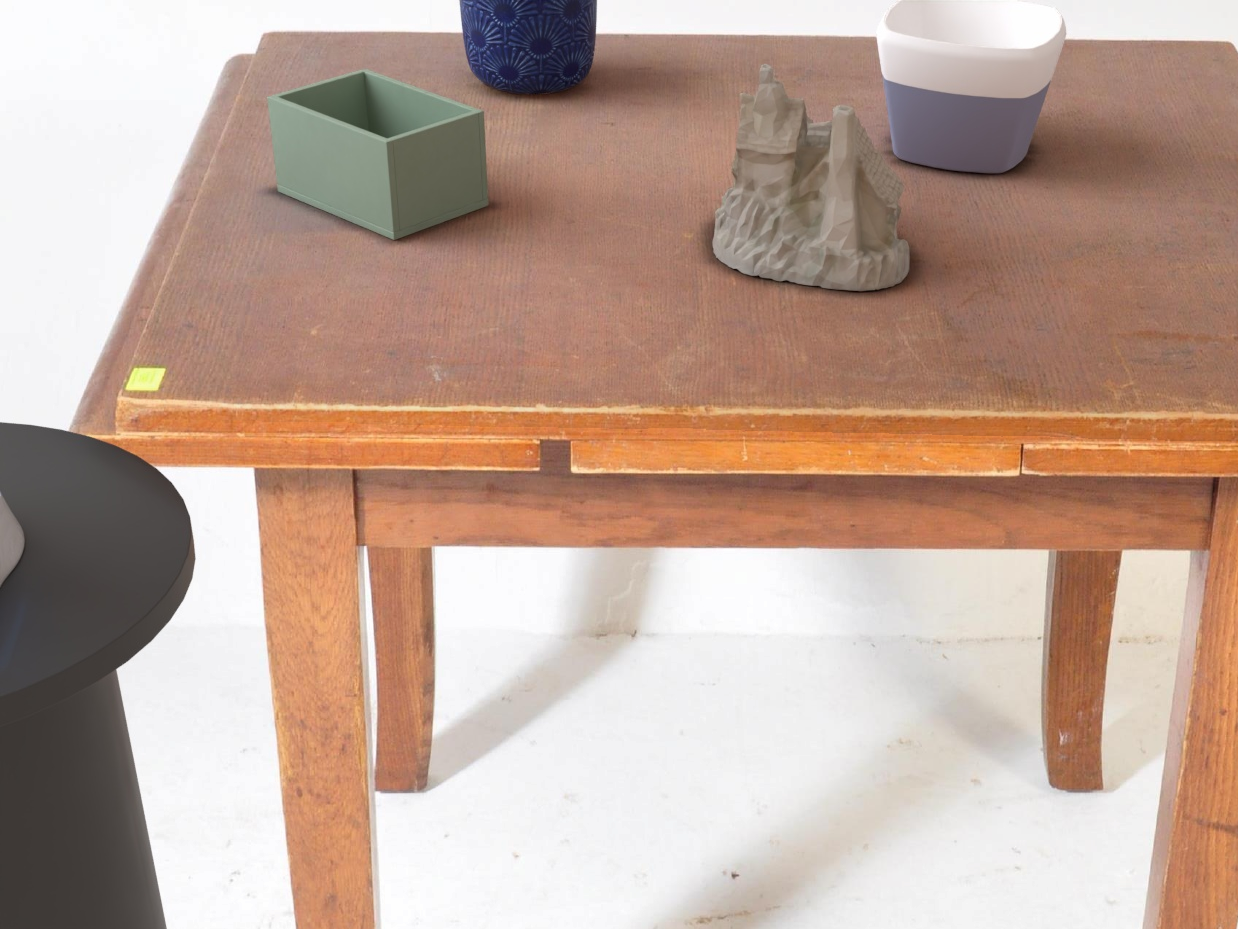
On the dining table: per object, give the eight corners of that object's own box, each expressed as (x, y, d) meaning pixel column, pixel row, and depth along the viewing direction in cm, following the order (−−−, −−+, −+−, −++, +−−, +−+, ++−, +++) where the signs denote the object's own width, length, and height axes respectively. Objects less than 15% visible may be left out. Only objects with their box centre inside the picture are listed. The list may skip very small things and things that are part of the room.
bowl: (893, 109, 171) (903, -17, 165) (1063, 132, 168) (1079, 5, 162) (851, 167, 159) (860, 33, 153) (1033, 193, 156) (1050, 57, 150)
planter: (514, 113, 167) (509, -14, 160) (435, 75, 174) (428, -48, 168) (626, 86, 174) (626, -37, 167) (546, 51, 181) (542, -68, 175)
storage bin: (394, 240, 143) (386, 142, 139) (277, 191, 150) (266, 96, 145) (488, 205, 149) (484, 110, 145) (372, 160, 156) (364, 68, 152)
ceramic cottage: (880, 301, 137) (893, 90, 129) (674, 265, 142) (675, 60, 135) (950, 239, 149) (965, 44, 142) (758, 208, 155) (763, 18, 147)
